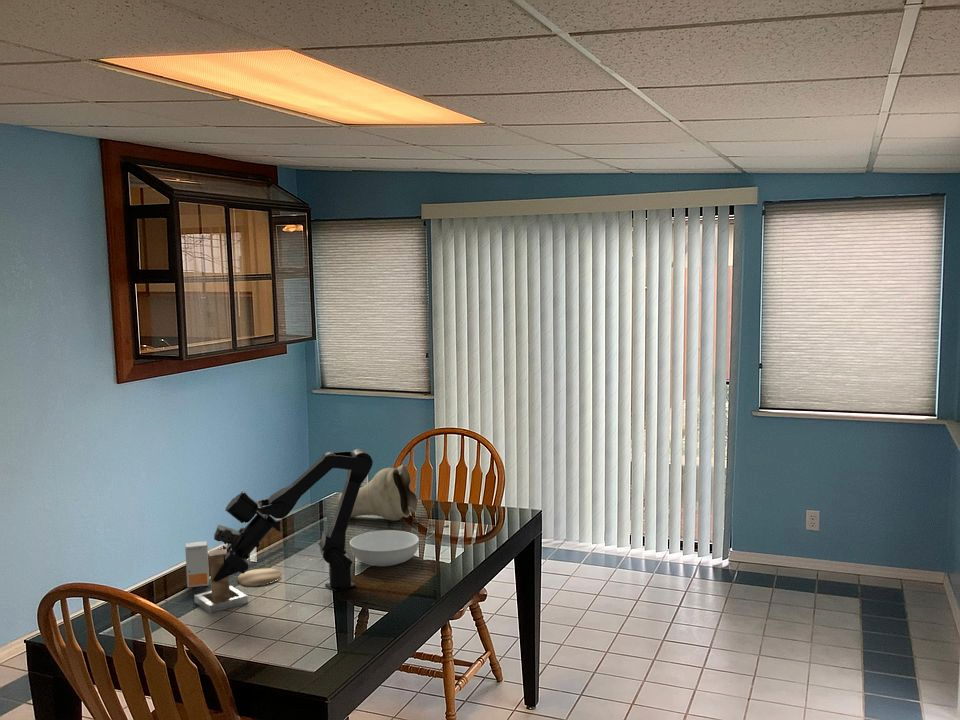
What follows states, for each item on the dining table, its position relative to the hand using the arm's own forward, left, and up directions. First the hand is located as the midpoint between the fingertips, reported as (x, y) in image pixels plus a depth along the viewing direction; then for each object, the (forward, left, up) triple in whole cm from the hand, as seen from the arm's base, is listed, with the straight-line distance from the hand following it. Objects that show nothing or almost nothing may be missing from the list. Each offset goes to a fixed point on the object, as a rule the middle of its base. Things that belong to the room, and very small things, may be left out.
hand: (214, 577), depth 240 cm
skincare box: (+17, -2, -7) cm, 19 cm away
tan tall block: (-1, -1, -7) cm, 7 cm away
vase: (+37, -75, -7) cm, 84 cm away
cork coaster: (+9, -17, -7) cm, 21 cm away
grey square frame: (-1, -1, -7) cm, 7 cm away
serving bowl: (-4, -52, -7) cm, 53 cm away
